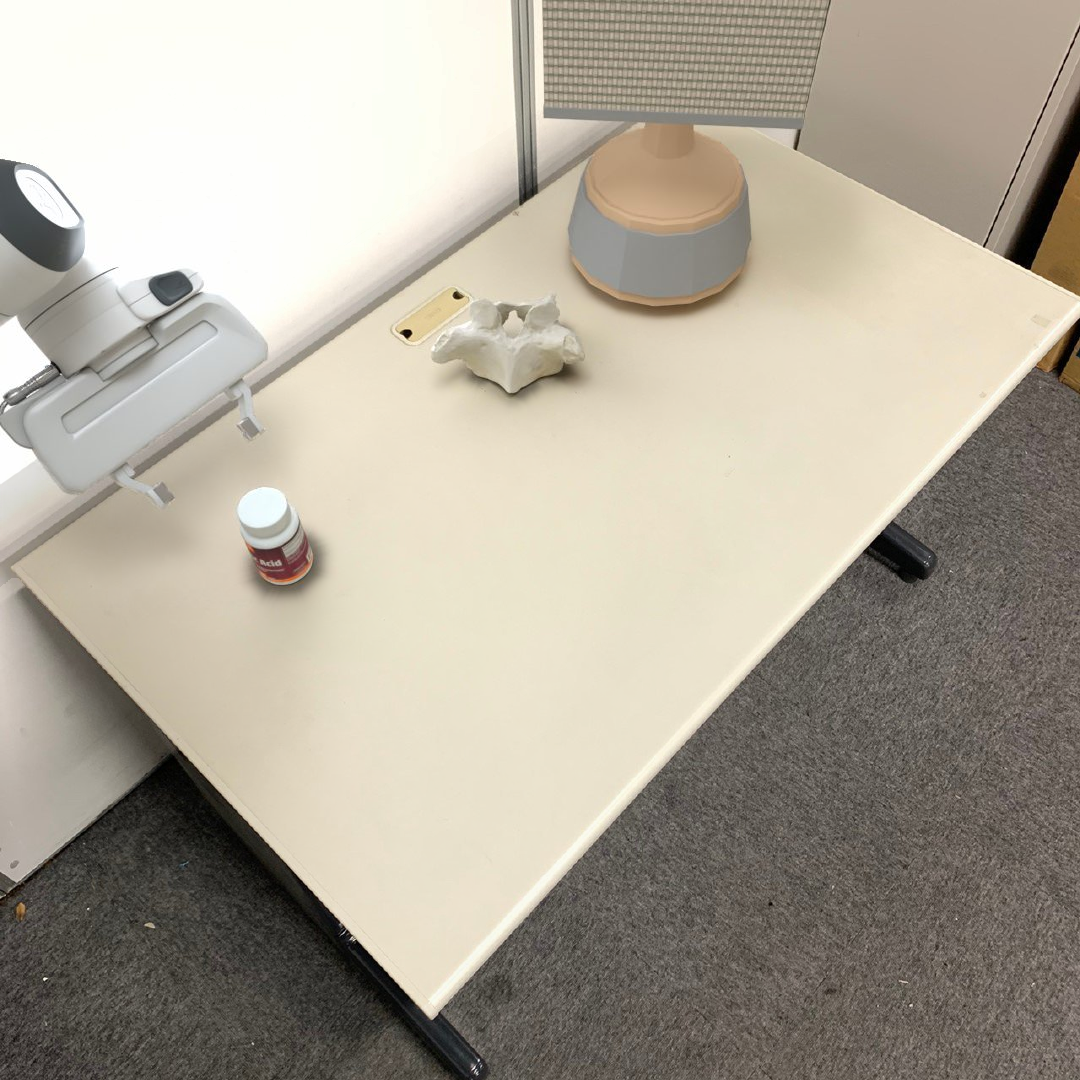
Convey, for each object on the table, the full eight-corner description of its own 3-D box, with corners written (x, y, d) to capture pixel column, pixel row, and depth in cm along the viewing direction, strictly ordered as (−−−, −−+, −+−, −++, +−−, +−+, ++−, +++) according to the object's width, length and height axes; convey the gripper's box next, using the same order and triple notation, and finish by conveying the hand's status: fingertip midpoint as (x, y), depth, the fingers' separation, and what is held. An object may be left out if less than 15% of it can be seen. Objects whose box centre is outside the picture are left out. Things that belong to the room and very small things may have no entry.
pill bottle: (247, 573, 85) (219, 517, 78) (280, 532, 88) (255, 474, 81) (292, 595, 84) (267, 540, 77) (325, 553, 86) (303, 495, 79)
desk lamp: (758, 205, 110) (831, -176, 80) (760, 327, 100) (846, -56, 69) (563, 195, 112) (562, -181, 82) (546, 315, 102) (537, -66, 71)
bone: (580, 392, 97) (590, 342, 90) (440, 416, 95) (438, 367, 88) (558, 320, 101) (565, 266, 94) (422, 341, 99) (419, 288, 91)
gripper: (-16, 402, 72) (114, 549, 77) (209, 255, 80) (315, 396, 85) (-18, 411, 78) (104, 548, 82) (193, 273, 86) (293, 404, 90)
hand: (213, 470), depth 83 cm, fingers open, 8 cm apart
